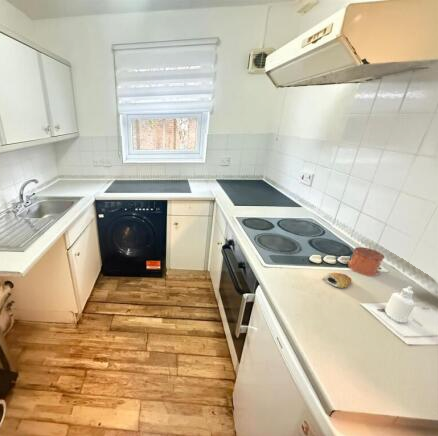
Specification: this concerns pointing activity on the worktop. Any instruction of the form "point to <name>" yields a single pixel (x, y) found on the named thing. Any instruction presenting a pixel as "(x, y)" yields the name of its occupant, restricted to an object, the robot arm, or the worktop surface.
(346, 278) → the pastry
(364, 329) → the worktop surface
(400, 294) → the eye dropper bottle
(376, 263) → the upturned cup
